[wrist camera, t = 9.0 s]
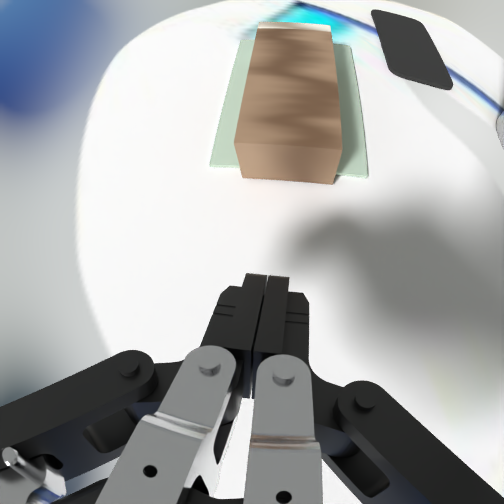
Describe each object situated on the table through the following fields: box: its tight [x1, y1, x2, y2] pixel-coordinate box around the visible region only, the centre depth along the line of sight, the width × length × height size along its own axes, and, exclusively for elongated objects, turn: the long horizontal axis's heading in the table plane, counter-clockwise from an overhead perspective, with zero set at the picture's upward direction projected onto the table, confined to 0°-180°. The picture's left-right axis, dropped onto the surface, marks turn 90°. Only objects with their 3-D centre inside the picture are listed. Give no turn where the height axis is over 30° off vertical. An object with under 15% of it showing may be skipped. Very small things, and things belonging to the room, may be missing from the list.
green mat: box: [209, 40, 368, 178], centre depth 22 cm, size 11×16×1 cm
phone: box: [371, 10, 453, 90], centre depth 23 cm, size 7×1×15 cm
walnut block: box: [234, 22, 342, 185], centre depth 19 cm, size 6×4×14 cm
